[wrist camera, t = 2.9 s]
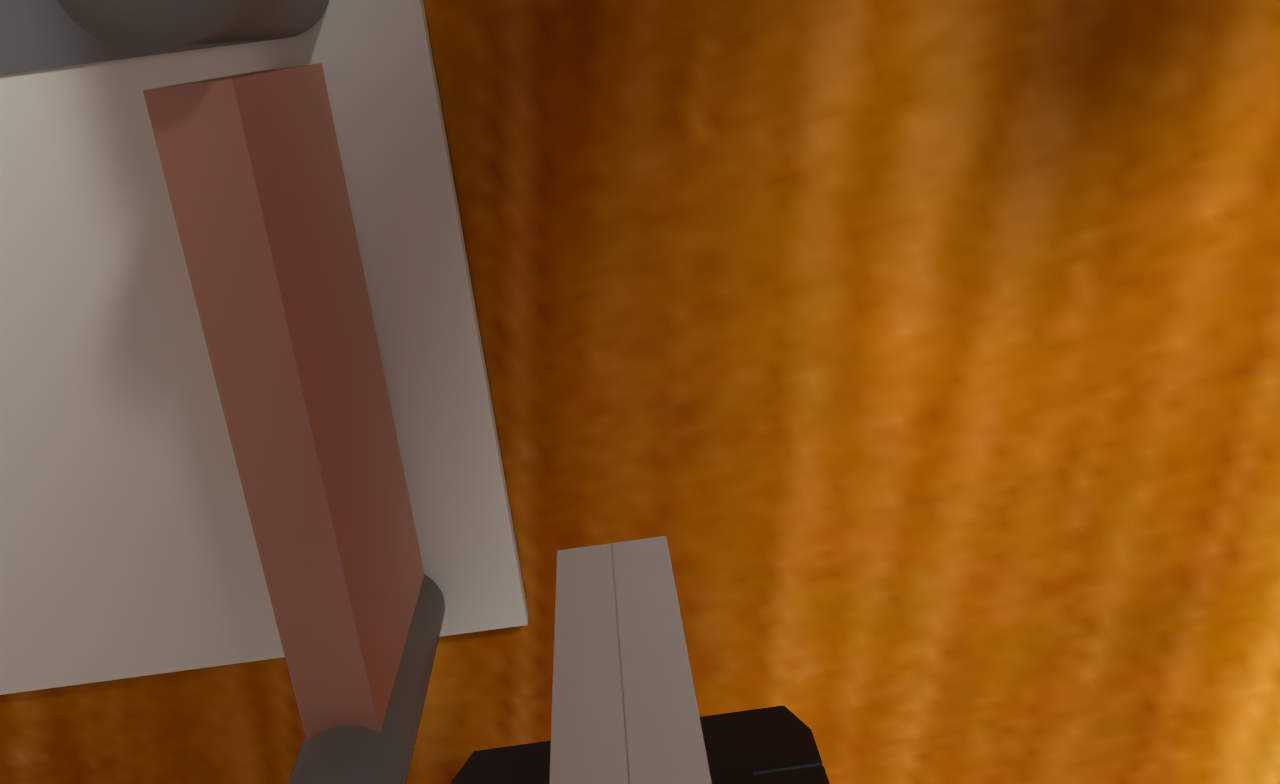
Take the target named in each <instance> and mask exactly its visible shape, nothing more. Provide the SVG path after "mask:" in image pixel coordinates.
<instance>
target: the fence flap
mask: <svg viewBox="0 0 1280 784" xmlns="http://www.w3.org/2000/svg"><path fill="white" fill-rule="evenodd" d="M143 93H144V97H145V101H146V105H147V109H148V113H149V117H150V121H151V125H152V129H153V133H154V137H155V141H156V145H157V149H158V153H159V157H160V161H161V165H162V169H163V173H164V177H165V181H166V185H167V189H168V193H169V197H170V201H171V205H172V209H173V213H174V217H175V221H176V225H177V229H178V233H179V237H180V241H181V245H182V248H183V252H184V256H185V260H186V264H187V268H188V272H189V276H190V280H191V284H192V288H193V292H194V296H195V300H196V304H197V308H198V312H199V316H200V320H201V324H202V328H203V332H204V336H205V340H206V344H207V348H208V352H209V356H210V360H211V364H212V368H213V372H214V376H215V380H216V384H217V388H218V392H219V396H220V400H221V404H222V408H223V412H224V416H225V420H226V424H227V428H228V432H229V436H230V440H231V444H232V448H233V452H234V456H235V460H236V464H237V468H238V472H239V476H240V480H241V484H242V488H243V492H244V496H245V500H246V504H247V508H248V512H249V516H250V520H251V524H252V528H253V532H254V536H255V540H256V544H257V548H258V552H259V556H260V560H261V564H262V568H263V572H264V576H265V580H266V584H267V588H268V592H269V596H270V600H271V604H272V608H273V612H274V616H275V620H276V624H277V628H278V632H279V636H280V640H281V644H282V648H283V652H284V656H285V660H286V664H287V668H288V672H289V676H290V680H291V683H292V687H293V691H294V695H295V699H296V703H297V707H298V711H299V715H300V719H301V723H302V727H303V731H304V735H305V740H304V742H303V745H302V748H301V750H300V753H299V756H298V758H297V761H296V763H295V766H294V769H293V771H292V774H291V776H290V779H289V782H288V784H406V780H407V776H408V771H409V767H410V762H411V758H412V754H413V749H414V745H415V740H416V736H417V732H418V727H419V723H420V719H421V714H422V710H423V705H424V701H425V697H426V692H427V688H428V683H429V679H430V675H431V670H432V666H433V661H434V657H435V653H436V648H437V644H438V640H439V635H440V631H441V626H442V622H443V618H444V613H445V601H444V597H443V594H442V592H441V590H440V588H439V587H438V585H437V584H436V583H435V582H434V581H433V580H432V579H431V578H430V577H428V576H427V575H425V574H424V569H423V564H422V559H421V554H420V549H419V544H418V539H417V534H416V529H415V524H414V519H413V514H412V509H411V504H410V499H409V494H408V489H407V484H406V479H405V474H404V469H403V464H402V459H401V455H400V450H399V445H398V440H397V435H396V430H395V425H394V420H393V415H392V410H391V405H390V400H389V395H388V390H387V385H386V380H385V375H384V370H383V365H382V360H381V355H380V350H379V345H378V340H377V335H376V330H375V325H374V320H373V315H372V310H371V305H370V300H369V295H368V290H367V286H366V281H365V276H364V271H363V266H362V261H361V256H360V251H359V246H358V241H357V236H356V231H355V226H354V221H353V216H352V211H351V206H350V201H349V196H348V191H347V186H346V181H345V176H344V171H343V166H342V161H341V156H340V151H339V146H338V141H337V136H336V131H335V126H334V121H333V116H332V112H331V107H330V102H329V97H328V92H327V87H326V82H325V77H324V72H323V67H322V63H318V64H310V65H303V66H295V67H287V68H279V69H271V70H263V71H256V72H250V73H244V74H238V75H232V76H226V77H220V78H214V79H207V80H201V81H195V82H189V83H183V84H177V85H171V86H165V87H159V88H153V89H147V90H143Z"/></svg>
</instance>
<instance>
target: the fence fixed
mask: <svg viewBox="0 0 1280 784" xmlns="http://www.w3.org/2000/svg"><path fill="white" fill-rule="evenodd" d="M57 1H58V3H59V4H60V6H61V7H62V8H63V10H64V11H65V12H66V13H67V15H68V16H69V17H70V18H71V19H72V20H73V21H74V22H75V23H76V24H78V25H79V26H80V27H81V28H83V29H84V30H85V31H87V32H88V33H90V34H91V35H93V36H94V37H96V38H98V39H101V40H103V41H105V42H107V43H110V44H113V45H116V46H121V47H126V48H154V47H168V46H183V45H197V44H211V43H225V42H239V41H254V40H268V39H282V38H290V37H295V36H297V35H300V34H302V33H304V32H306V31H308V30H309V29H310V28H312V27H313V26H314V25H315V24H316V23H317V22H318V21H319V20H320V18H321V17H322V16H323V14H324V12H325V10H326V8H327V6H328V3H329V0H57Z"/></svg>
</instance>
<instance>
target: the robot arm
mask: <svg viewBox="0 0 1280 784" xmlns="http://www.w3.org/2000/svg"><path fill="white" fill-rule="evenodd" d="M451 784H829V781H828V778H827V775H826V772H825V769H824V766H822V761H821V758H820V755H819V752H818V749H817V746H816V743H815V740H814V737H813V734H812V731H811V729H810V728H809V727H807V726H806V725H805V724H804V723H803V722H802V721H801V720H800V719H798V718H797V717H796V716H795V715H794V714H793V713H792V712H790V711H789V710H788V709H787V708H786V707H785V706H776V707H769V708H762V709H755V710H747V711H740V712H733V713H726V714H718V715H711V716H704V717H699V712H698V706H697V701H696V695H695V690H694V684H693V679H692V674H691V668H690V663H689V657H688V652H687V646H686V641H685V636H684V630H683V625H682V619H681V614H680V608H679V603H678V598H677V592H676V587H675V581H674V576H673V570H672V565H671V560H670V554H669V549H668V543H667V538H666V536H661V537H654V538H646V539H639V540H631V541H624V542H617V543H609V544H602V545H594V546H587V547H580V548H572V549H565V550H557V572H556V602H555V632H554V662H553V692H552V722H551V741H546V742H539V743H531V744H524V745H517V746H510V747H502V748H495V749H488V750H481V751H474V752H473V753H472V755H471V756H470V757H469V759H468V760H467V762H466V763H465V764H464V766H463V767H462V768H461V770H460V771H459V772H458V774H457V775H456V776H455V778H454V779H453V780H452V782H451Z"/></svg>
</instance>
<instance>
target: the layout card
mask: <svg viewBox="0 0 1280 784" xmlns="http://www.w3.org/2000/svg"><path fill="white" fill-rule="evenodd" d="M318 63H322V67H323V72H324V77H325V82H326V87H327V92H328V97H329V102H330V107H331V112H332V116H333V121H334V126H335V131H336V136H337V141H338V146H339V151H340V156H341V161H342V166H343V171H344V176H345V181H346V186H347V191H348V196H349V201H350V206H351V211H352V216H353V221H354V226H355V231H356V236H357V241H358V246H359V251H360V256H361V261H362V266H363V271H364V276H365V281H366V286H367V290H368V295H369V300H370V305H371V310H372V315H373V320H374V325H375V330H376V335H377V340H378V345H379V350H380V355H381V360H382V365H383V370H384V375H385V380H386V385H387V390H388V395H389V400H390V405H391V410H392V415H393V420H394V425H395V430H396V435H397V440H398V445H399V450H400V455H401V459H402V464H403V469H404V474H405V479H406V484H407V489H408V494H409V499H410V504H411V509H412V514H413V519H414V524H415V529H416V534H417V539H418V544H419V549H420V554H421V559H422V564H423V569H424V574H425V575H427V576H428V577H430V578H431V579H432V580H433V581H434V582H435V583H436V584H437V585H438V587H439V588H440V590H441V592H442V594H443V597H444V601H445V613H444V618H443V622H442V626H441V631H440V635H439V637H441V636H449V635H456V634H464V633H471V632H479V631H486V630H494V629H501V628H509V627H516V626H524V625H528V610H527V605H526V599H525V593H524V587H523V581H522V575H521V570H520V564H519V558H518V552H517V546H516V540H515V535H514V529H513V523H512V517H511V511H510V505H509V500H508V494H507V488H506V482H505V476H504V470H503V465H502V459H501V453H500V447H499V441H498V435H497V430H496V424H495V418H494V412H493V406H492V400H491V395H490V389H489V383H488V377H487V371H486V365H485V360H484V354H483V348H482V342H481V336H480V330H479V325H478V319H477V313H476V307H475V301H474V295H473V290H472V284H471V278H470V272H469V266H468V260H467V255H466V249H465V243H464V237H463V231H462V225H461V220H460V214H459V208H458V202H457V196H456V190H455V185H454V179H453V173H452V167H451V161H450V155H449V150H448V144H447V138H446V132H445V126H444V120H443V115H442V109H441V103H440V97H439V91H438V85H437V80H436V74H435V68H434V62H433V56H432V50H431V45H430V39H429V33H428V27H427V21H426V15H425V9H424V4H423V0H329V3H328V6H327V8H326V10H325V12H324V14H323V16H322V17H321V18H320V20H319V21H318V22H317V23H316V24H315V25H314V26H313V27H312V28H310V29H309V30H308V31H306V32H304V33H302V34H300V35H297V36H295V37H290V38H282V39H268V40H254V41H239V42H225V43H211V44H197V45H183V46H168V47H154V48H126V47H121V46H116V45H113V44H110V43H107V42H105V41H103V40H101V39H98V38H96V37H94V36H93V35H91V34H90V33H88V32H87V31H85V30H84V29H83V28H81V27H80V26H79V25H78V24H76V23H75V22H74V21H73V20H72V19H71V18H70V17H69V16H68V15H67V13H66V12H65V11H64V10H63V8H62V7H61V6H60V4H59V3H58V1H57V0H0V695H4V694H11V693H19V692H26V691H34V690H41V689H49V688H56V687H64V686H72V685H79V684H87V683H94V682H102V681H109V680H117V679H124V678H132V677H139V676H147V675H154V674H162V673H170V672H177V671H185V670H192V669H200V668H207V667H215V666H222V665H230V664H237V663H245V662H252V661H260V660H268V659H275V658H283V657H285V656H284V652H283V648H282V644H281V640H280V636H279V632H278V628H277V624H276V620H275V616H274V612H273V608H272V604H271V600H270V596H269V592H268V588H267V584H266V580H265V576H264V572H263V568H262V564H261V560H260V556H259V552H258V548H257V544H256V540H255V536H254V532H253V528H252V524H251V520H250V516H249V512H248V508H247V504H246V500H245V496H244V492H243V488H242V484H241V480H240V476H239V472H238V468H237V464H236V460H235V456H234V452H233V448H232V444H231V440H230V436H229V432H228V428H227V424H226V420H225V416H224V412H223V408H222V404H221V400H220V396H219V392H218V388H217V384H216V380H215V376H214V372H213V368H212V364H211V360H210V356H209V352H208V348H207V344H206V340H205V336H204V332H203V328H202V324H201V320H200V316H199V312H198V308H197V304H196V300H195V296H194V292H193V288H192V284H191V280H190V276H189V272H188V268H187V264H186V260H185V256H184V252H183V248H182V245H181V241H180V237H179V233H178V229H177V225H176V221H175V217H174V213H173V209H172V205H171V201H170V197H169V193H168V189H167V185H166V181H165V177H164V173H163V169H162V165H161V161H160V157H159V153H158V149H157V145H156V141H155V137H154V133H153V129H152V125H151V121H150V117H149V113H148V109H147V105H146V101H145V97H144V93H143V90H147V89H153V88H159V87H165V86H171V85H177V84H183V83H189V82H195V81H201V80H207V79H214V78H220V77H226V76H232V75H238V74H244V73H250V72H256V71H263V70H271V69H279V68H287V67H295V66H303V65H310V64H318Z"/></svg>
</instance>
